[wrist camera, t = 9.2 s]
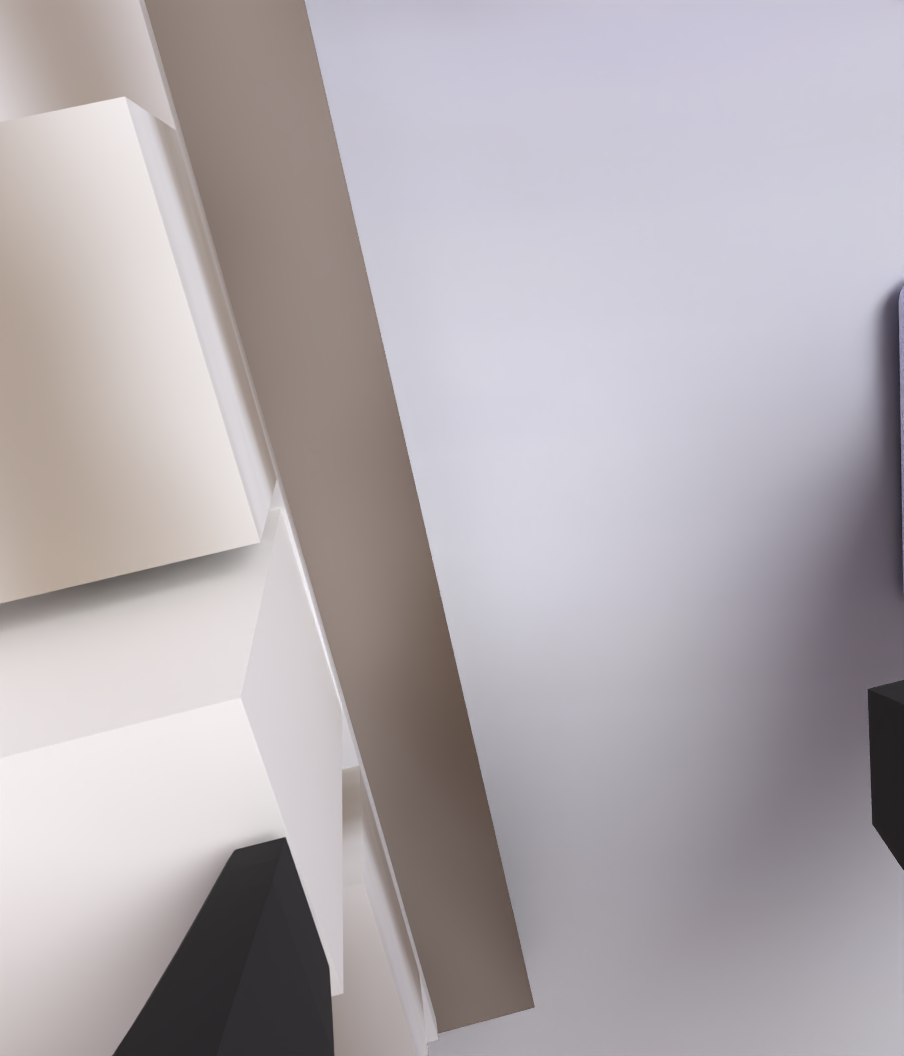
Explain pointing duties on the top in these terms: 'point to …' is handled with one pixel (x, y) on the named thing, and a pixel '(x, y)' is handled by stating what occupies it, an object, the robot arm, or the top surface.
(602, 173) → the top surface
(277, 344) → the rail board
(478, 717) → the top surface
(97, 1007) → the block
